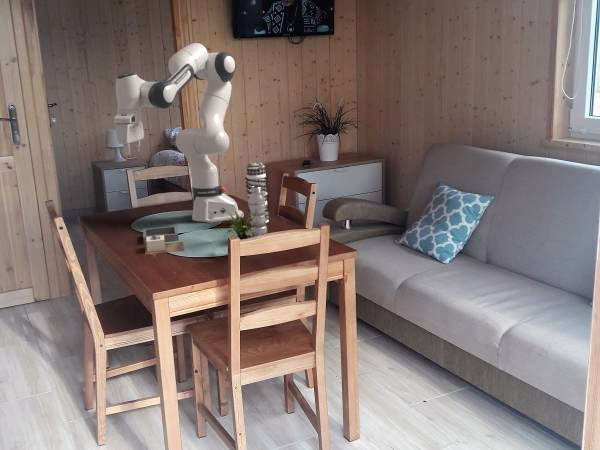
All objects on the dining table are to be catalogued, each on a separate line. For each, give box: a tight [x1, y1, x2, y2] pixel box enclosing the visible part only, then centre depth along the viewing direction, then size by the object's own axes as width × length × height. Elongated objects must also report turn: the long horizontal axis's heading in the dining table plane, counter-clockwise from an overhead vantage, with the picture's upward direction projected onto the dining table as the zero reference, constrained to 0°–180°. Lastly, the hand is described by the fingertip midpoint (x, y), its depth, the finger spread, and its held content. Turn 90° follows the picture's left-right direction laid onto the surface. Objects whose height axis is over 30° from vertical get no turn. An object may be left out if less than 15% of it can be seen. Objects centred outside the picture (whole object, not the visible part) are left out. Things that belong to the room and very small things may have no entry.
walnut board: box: [144, 235, 185, 256], centre depth 247 cm, size 14×12×6 cm
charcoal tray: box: [142, 225, 180, 245], centre depth 261 cm, size 13×13×4 cm
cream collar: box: [146, 235, 166, 252], centre depth 246 cm, size 6×6×4 cm
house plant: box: [222, 211, 258, 240], centre depth 237 cm, size 14×14×16 cm
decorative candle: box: [244, 161, 270, 224], centre depth 280 cm, size 9×9×25 cm
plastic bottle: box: [247, 186, 268, 238], centre depth 256 cm, size 6×7×20 cm
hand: (132, 153), depth 257 cm, fingers open, 8 cm apart
